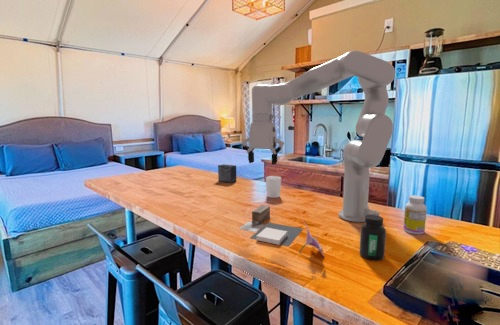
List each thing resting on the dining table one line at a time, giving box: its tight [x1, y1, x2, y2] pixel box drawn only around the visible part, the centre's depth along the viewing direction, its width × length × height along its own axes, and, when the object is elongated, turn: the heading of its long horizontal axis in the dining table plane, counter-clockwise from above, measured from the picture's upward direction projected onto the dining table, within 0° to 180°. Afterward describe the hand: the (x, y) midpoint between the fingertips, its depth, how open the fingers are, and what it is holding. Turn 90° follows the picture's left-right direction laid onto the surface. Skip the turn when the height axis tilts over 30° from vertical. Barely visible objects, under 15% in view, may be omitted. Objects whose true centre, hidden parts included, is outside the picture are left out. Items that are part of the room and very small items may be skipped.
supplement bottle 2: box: [403, 194, 428, 235], centre depth 101 cm, size 7×7×13 cm
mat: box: [249, 221, 304, 247], centre depth 100 cm, size 14×16×1 cm
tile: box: [255, 227, 287, 246], centre depth 96 cm, size 8×2×8 cm
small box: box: [217, 163, 237, 184], centre depth 182 cm, size 11×6×10 cm, turn 58°
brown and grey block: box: [238, 204, 271, 233], centre depth 110 cm, size 7×17×5 cm, turn 153°
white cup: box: [265, 175, 282, 199], centre depth 147 cm, size 8×8×10 cm
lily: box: [298, 220, 325, 257], centre depth 86 cm, size 12×12×10 cm
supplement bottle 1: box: [359, 215, 387, 262], centre depth 84 cm, size 7×7×12 cm
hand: (262, 163), depth 110 cm, fingers open, 9 cm apart
